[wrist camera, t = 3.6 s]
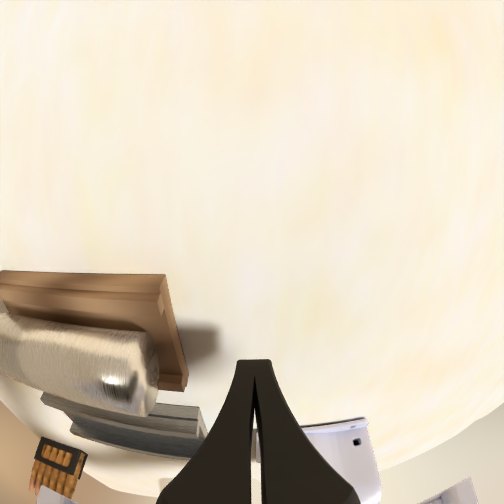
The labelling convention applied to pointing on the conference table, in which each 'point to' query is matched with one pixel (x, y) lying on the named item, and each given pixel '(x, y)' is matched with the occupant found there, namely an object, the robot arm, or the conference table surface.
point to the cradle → (137, 427)
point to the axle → (82, 363)
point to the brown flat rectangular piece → (103, 309)
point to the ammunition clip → (57, 467)
